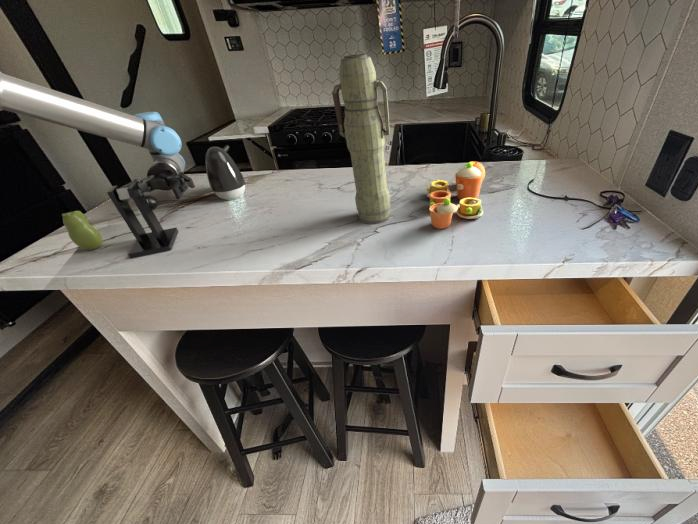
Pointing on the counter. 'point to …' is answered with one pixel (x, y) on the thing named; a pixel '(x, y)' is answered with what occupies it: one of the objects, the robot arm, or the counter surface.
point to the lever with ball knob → (127, 197)
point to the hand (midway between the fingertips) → (148, 199)
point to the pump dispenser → (224, 174)
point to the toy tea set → (466, 192)
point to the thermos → (364, 135)
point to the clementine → (478, 167)
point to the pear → (81, 230)
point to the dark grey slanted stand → (144, 241)
